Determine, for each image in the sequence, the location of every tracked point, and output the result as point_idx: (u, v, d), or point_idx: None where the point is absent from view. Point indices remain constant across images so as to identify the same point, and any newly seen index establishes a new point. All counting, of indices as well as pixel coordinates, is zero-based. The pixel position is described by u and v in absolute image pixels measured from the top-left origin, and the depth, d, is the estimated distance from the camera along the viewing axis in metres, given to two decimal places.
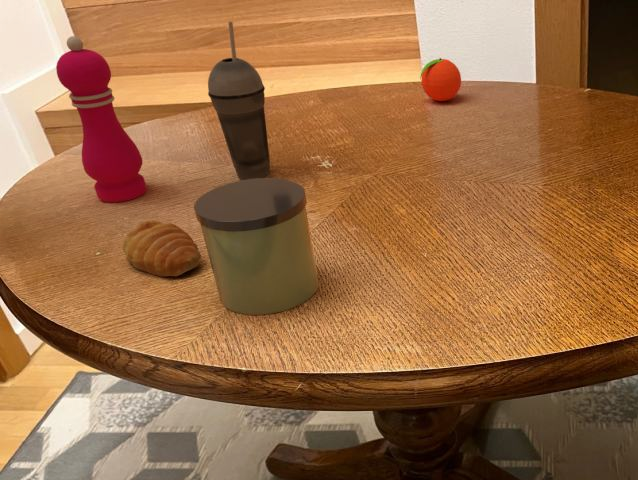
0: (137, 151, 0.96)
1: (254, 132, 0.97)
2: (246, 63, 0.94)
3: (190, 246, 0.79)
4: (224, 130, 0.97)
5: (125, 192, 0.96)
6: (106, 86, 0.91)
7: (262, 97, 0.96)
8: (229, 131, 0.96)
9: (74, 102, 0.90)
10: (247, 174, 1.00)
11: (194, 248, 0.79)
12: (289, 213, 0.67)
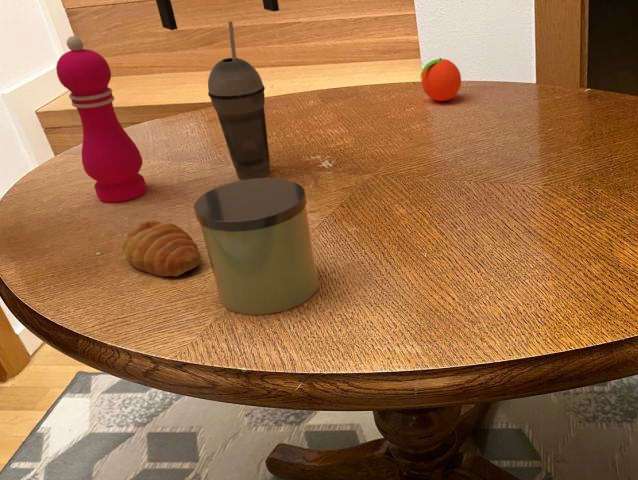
0: (137, 151, 0.96)
1: (254, 132, 0.97)
2: (246, 63, 0.94)
3: (190, 246, 0.79)
4: (224, 130, 0.97)
5: (125, 192, 0.96)
6: (106, 86, 0.91)
7: (262, 97, 0.96)
8: (229, 131, 0.96)
9: (74, 102, 0.90)
10: (247, 174, 1.00)
11: (194, 248, 0.79)
12: (289, 213, 0.67)
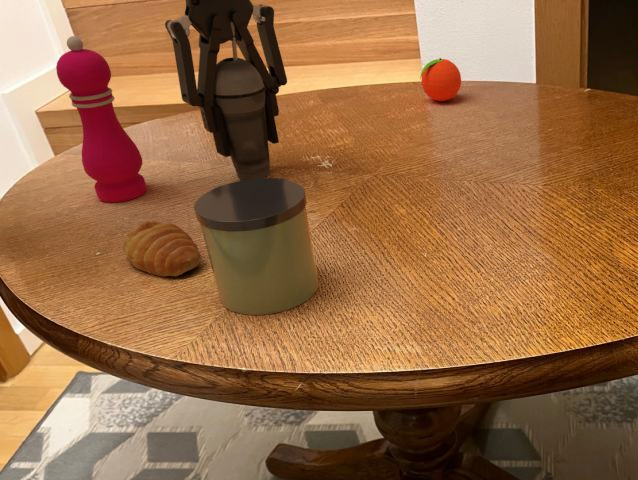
0: (137, 151, 0.96)
1: (254, 132, 0.97)
2: (247, 63, 0.94)
3: (190, 246, 0.79)
4: (225, 129, 0.97)
5: (125, 192, 0.96)
6: (106, 86, 0.91)
7: (263, 97, 0.96)
8: (229, 130, 0.96)
9: (74, 102, 0.90)
10: (247, 174, 1.00)
11: (194, 248, 0.79)
12: (289, 213, 0.67)
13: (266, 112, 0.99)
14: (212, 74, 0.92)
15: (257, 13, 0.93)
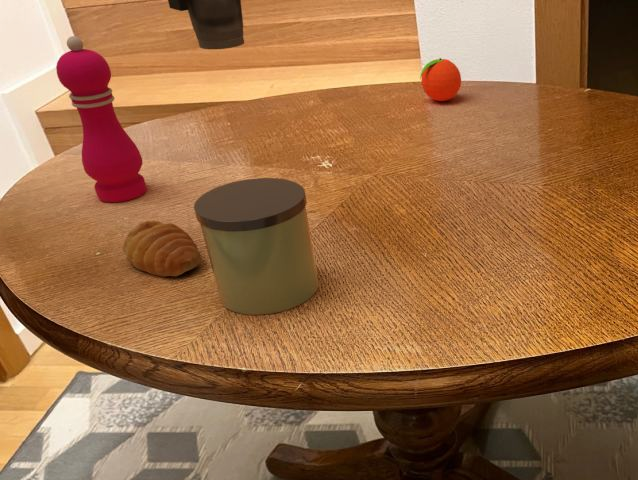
0: (137, 151, 0.96)
1: None
2: None
3: (190, 246, 0.79)
4: None
5: (125, 192, 0.96)
6: (106, 86, 0.91)
7: None
8: None
9: (74, 102, 0.90)
10: (212, 39, 0.73)
11: (194, 248, 0.79)
12: (289, 213, 0.67)
13: None
14: None
15: None
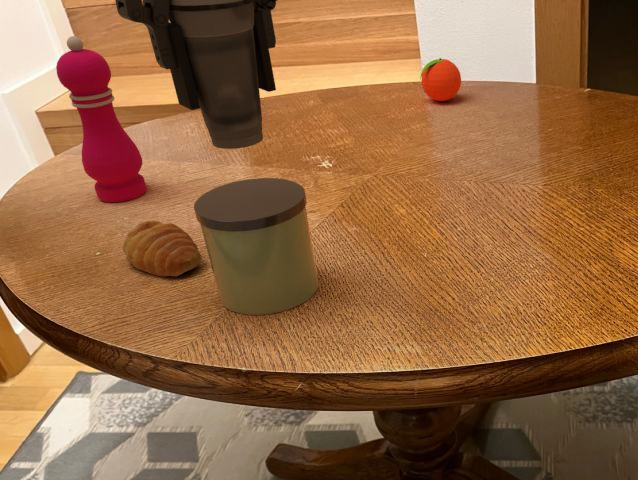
0: (137, 151, 0.96)
1: (237, 69, 0.61)
2: None
3: (190, 246, 0.79)
4: (190, 65, 0.61)
5: (125, 192, 0.96)
6: (106, 86, 0.91)
7: (250, 13, 0.60)
8: (197, 67, 0.60)
9: (74, 102, 0.90)
10: (227, 138, 0.64)
11: (194, 248, 0.79)
12: (289, 213, 0.67)
13: (256, 40, 0.63)
14: None
15: None
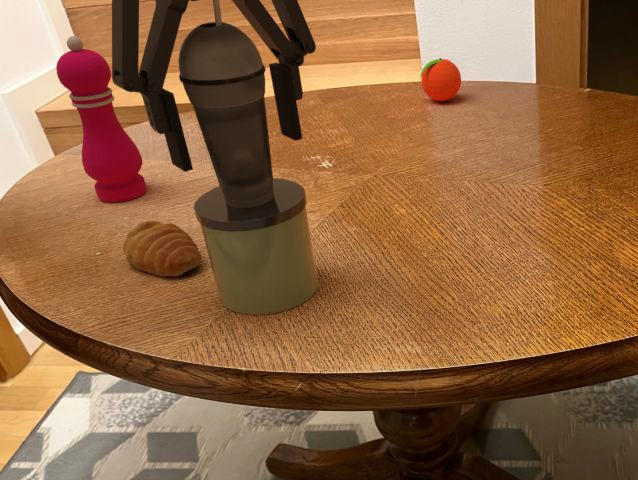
0: (137, 151, 0.96)
1: (250, 136, 0.64)
2: (237, 30, 0.61)
3: (190, 246, 0.79)
4: (205, 132, 0.64)
5: (125, 192, 0.96)
6: (106, 86, 0.91)
7: (262, 83, 0.63)
8: (212, 134, 0.64)
9: (74, 102, 0.90)
10: (240, 198, 0.67)
11: (194, 248, 0.79)
12: (289, 213, 0.67)
13: (284, 94, 0.67)
14: (169, 45, 0.58)
15: None
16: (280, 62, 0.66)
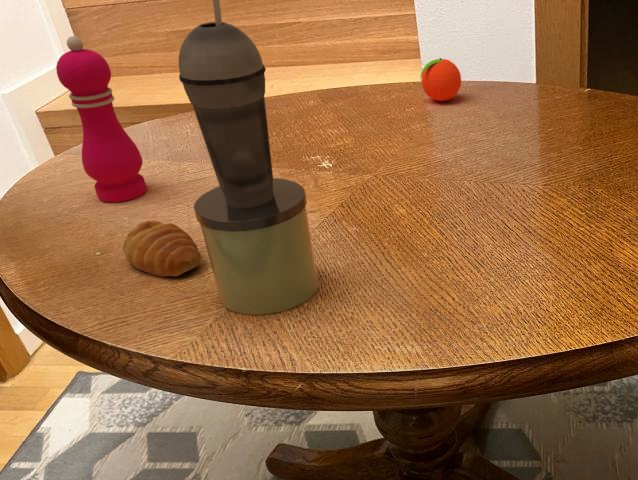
0: (137, 151, 0.96)
1: (250, 136, 0.64)
2: (237, 30, 0.61)
3: (189, 246, 0.79)
4: (205, 132, 0.64)
5: (125, 192, 0.96)
6: (106, 86, 0.91)
7: (262, 83, 0.63)
8: (212, 134, 0.64)
9: (74, 102, 0.90)
10: (240, 198, 0.67)
11: (194, 248, 0.79)
12: (289, 213, 0.67)
13: None
14: None
15: None
16: None
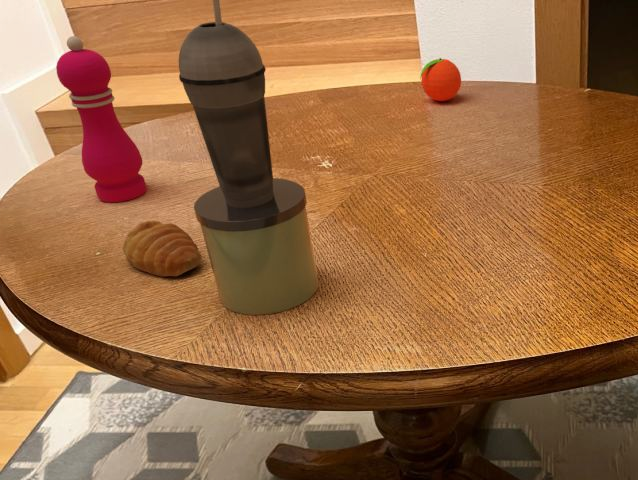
0: (137, 151, 0.96)
1: (250, 136, 0.64)
2: (237, 30, 0.61)
3: (189, 246, 0.79)
4: (205, 132, 0.64)
5: (125, 192, 0.96)
6: (106, 86, 0.91)
7: (262, 83, 0.63)
8: (212, 134, 0.64)
9: (74, 102, 0.90)
10: (240, 198, 0.67)
11: (194, 248, 0.79)
12: (289, 213, 0.67)
13: None
14: None
15: None
16: None
